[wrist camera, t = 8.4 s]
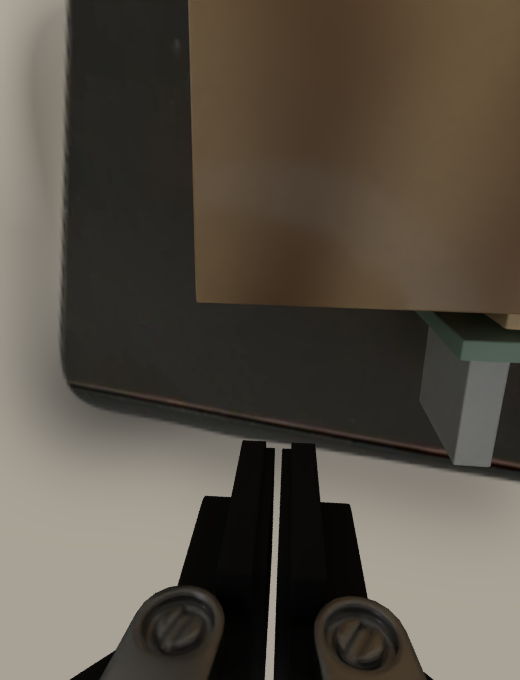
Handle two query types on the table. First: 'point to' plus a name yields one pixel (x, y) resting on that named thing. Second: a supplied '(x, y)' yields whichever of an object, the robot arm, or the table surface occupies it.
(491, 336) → the sliding door
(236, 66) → the cabinet
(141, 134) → the table surface
